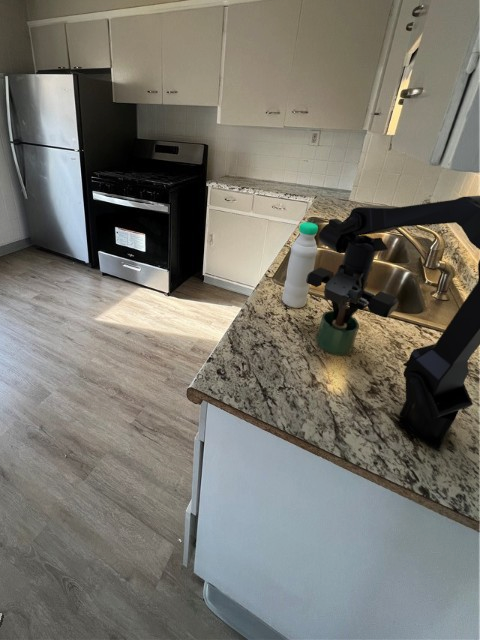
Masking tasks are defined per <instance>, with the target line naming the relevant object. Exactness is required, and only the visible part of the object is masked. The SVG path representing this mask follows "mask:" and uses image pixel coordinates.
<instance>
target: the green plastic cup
mask: <svg viewBox="0 0 480 640" xmlns="http://www.w3.org/2000/svg"><path fill="white" fill-rule="evenodd" d="M334 320H336V319H335V318H334V313H333V310H328V311H325V312H324V313H322V316H321V319H320V324H319V327H318V331H317V335H316V343H317V345H318V346H319V347H320V348H321V349H322V350H324V351H326V352H327V353H330V354H331V355H336V356H345V355H348V354H350V353H351V352H352V351H353V348H354V344H355V341H356V338H357V335H358V332H359V329H360V323H359V322H358V320H357V318H354V316H352V317H351V318H350V319H349V321H348V322H347V323H346V324H347V327H346V330H340V329H337V328H334V327H332V322H333V321H334Z"/></svg>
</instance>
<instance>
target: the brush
mask: <svg viewBox="0 0 480 640" xmlns="http://www.w3.org/2000/svg"><path fill="white" fill-rule="evenodd" d="M348 309H349V305H348V304H346V305H340V307H339V311H338V315H337V318H336V320H334V321H333V322H332V327H334V328H337V329H340V330H346V327H347V324H346V323H344V319H345V316H346V314H347V311H348Z"/></svg>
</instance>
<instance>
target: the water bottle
mask: <svg viewBox="0 0 480 640" xmlns="http://www.w3.org/2000/svg"><path fill="white" fill-rule="evenodd" d="M318 230H319V226H318V225H317V224H316V223H315V222H307V221H306V222H301V223H300V224H299V227H298V233H299V235H298V237H297V238H296V239H295V241H294V242H293V243H292V244H291V247H290V254H289V259H288V262H287V268H286V276H285V277H286V278H285V281H284V286H283V292H282V295H281V300H282V302H283V304H285V306H287V307H290V308H295V309H300V308H303V307H305V306H306V305H307V303H308V302H307V301H308V294H309V292H310V286H311V285H310V284H308V283H307V282H306V279H307V275H308V274H309V273H310V272H312V271H314V270H315V264H316V258H317V255H318V252H319V250H318V246H317V245H318V244H317V241H316V239H315V236H317V234H318Z"/></svg>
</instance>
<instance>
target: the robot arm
mask: <svg viewBox="0 0 480 640" xmlns="http://www.w3.org/2000/svg"><path fill="white" fill-rule="evenodd" d="M444 224H457V225H458V226H459V227H461V230H462V231H463V232H464V234H465V236H466V237H467V239H468V241H469V242H470V243H471V244H472V245H473V246H474V247H476V248H477V249H478V250H479V251H480V195H469V196H461V197H458V198H456V199H455V198H454V199H450V200H449V199H448V200H441V201H434V202H427V203H421V204H413V205H412V204H411V205H405V206H396V205H369V206H357V207H353V208H352V209H351V211H350V213H349V215H348V216H347V218H345V219H344V220H343V221H341V219H338V218H330V219H329V220H328V223H327V224H325V225H324V226H323V227H322V229H321V230H320V231H319V232H318V241H319V243H320V244H322V245H323V246H325V247H327V248H329V249H331V250H332V251H334V252H336V253H337V254H344V255H343V258H342V262H341V264H339V266H338V268H337V271H336V273H334V272H333V271H331V270H329V269H326V268H324V267H322V266H319V267H317V268H314V270H313V271H312V272H310V273H309V274H308V275H307V279H306V282H307V283H308V284H310V286H313V287H314V288H318V287H321V286H322V283H323V284H324V290H323V294H324V295H323V298H324V299H326V300H328V301H330V302H331V307H332V311H333V313H334V318H335V319H336V318H337V315H338V311H339V307H340V305H348V306H349V309H348V311H347V314H346V316H345V319H344V323H347V322H348V321H349V319H350V318H351V317H354V315H355V314H356V313H357V312H358V310H359V311H364V310H365V309H366V308H367V309H368V310H369V312H370V313H372V314H375V315H376V316H378V317H381V318H388V317H389V316H390V315H392V314H393V313H394V312H395V311H396V310H397V308H398V306H399V299H398V297H396V296H394V295H392V294H388V293H386V292H384V291H382V290H379V291H378V292H377V293H374V292H371V291H369V290H366V288H367V287H368V284H369V283H368V279H369V276H370V273H371V272H372V270H373V268H374V267H373V266H372V265H373V263H374V259H375V256H376V253H377V252H383V251H384V252H385V251H388V246H387V244H386V243H385V242H384V241H383V238H382V237H374V238H373V237H371V236H369V235H374V234H375V235H376V234H382V233H383V234H384V233H387V232H391V231H394V230H397V229H400V228H404V227H417V226H429V225H430V226H431V225H444ZM477 273H478V274H477V275H478V278H477V281H476V283H475V285H474V286H473V287H472V290H471V291H470V292H469V294H468V295H467V296H466V298H465V299H464V301H463V302H462V304H461V305H460V307H459V308H458V310H457V311H456V313H455V314H454V316H453V317H452V319H450V322H449V323H448V325H447V326H446V327H445V329H444V330H443V332H442V333H441V335H440V336H439V338H438V339H437V341H436V342H435V343H434V344H429V345H426V346H422V347H418V348H414V349H413V350H412V351H411V352H410V355H409V358H408V360H407V361H405V362H404V363H402V366H404V367H405V368H404V369H403V370H404V371H403V377H404V378H405V401H404V404H403V406H402V408H401V410H400V411H399V416H400V419H399V420H398V422H397V424H398V426H399V427H401V428H402V429H404V430H405V431H407V432H408V433H409V434H411V435H412V436H414V437H416V438H417V439H419V440H420V441H422V442H423V443H425V444H426V445H428V446H429V447H431V448H433V449H434V450H435V451H439V450H440V449H441V447H442V445H443V443H444V441H445V438H446V437H447V434H448V432H449V430H450V429H451V427H452V425H453V423H454V421H455V420H456V417H457V416H458V414H459V411H460V410H465V409H468V408H470V407H471V406H473V401H472V398H471V396H470V394H469V392H468V390H467V387H466V385H465V381H466V378H467V376H468V375H469V360H470V358H471V357H472V356H473V354H474V353H475V351H476V350H477V349H478V348H479V346H480V259H479V260H478V263H477Z"/></svg>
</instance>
